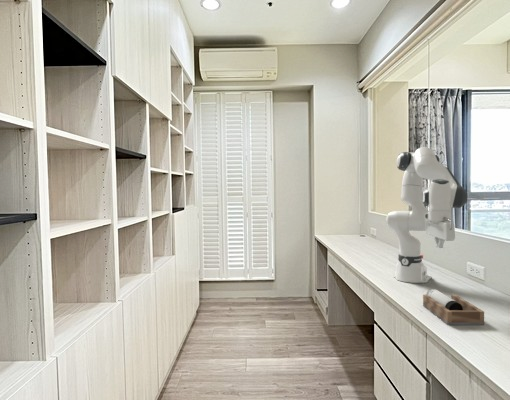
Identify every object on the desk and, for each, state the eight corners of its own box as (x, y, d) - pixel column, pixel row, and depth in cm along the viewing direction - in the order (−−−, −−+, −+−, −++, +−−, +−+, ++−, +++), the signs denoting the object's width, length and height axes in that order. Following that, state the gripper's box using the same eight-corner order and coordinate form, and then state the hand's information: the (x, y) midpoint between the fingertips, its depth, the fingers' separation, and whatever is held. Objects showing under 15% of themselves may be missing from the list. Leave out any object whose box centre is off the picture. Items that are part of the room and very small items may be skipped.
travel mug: (425, 288, 167) (448, 303, 147) (440, 288, 167) (464, 303, 147) (424, 302, 168) (447, 318, 148) (439, 302, 168) (464, 318, 148)
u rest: (423, 306, 166) (423, 294, 166) (454, 305, 166) (455, 294, 165) (447, 325, 144) (447, 311, 144) (484, 324, 144) (484, 311, 143)
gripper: (459, 219, 153) (459, 252, 154) (436, 214, 174) (436, 243, 175) (444, 219, 153) (443, 252, 154) (422, 214, 174) (422, 243, 175)
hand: (439, 247), depth 165 cm, fingers closed
